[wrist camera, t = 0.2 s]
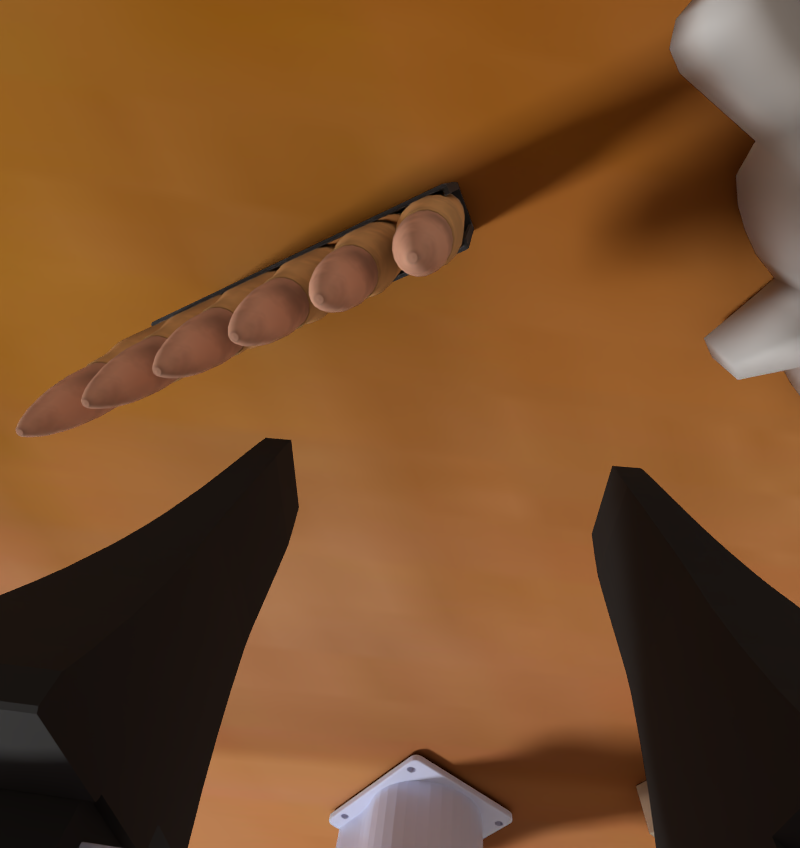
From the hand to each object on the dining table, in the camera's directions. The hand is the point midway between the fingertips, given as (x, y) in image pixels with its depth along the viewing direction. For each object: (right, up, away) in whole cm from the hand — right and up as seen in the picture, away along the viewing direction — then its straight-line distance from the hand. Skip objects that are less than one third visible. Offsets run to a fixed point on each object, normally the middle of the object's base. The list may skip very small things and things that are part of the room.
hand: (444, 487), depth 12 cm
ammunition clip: (-3, +8, +9) cm, 12 cm away
